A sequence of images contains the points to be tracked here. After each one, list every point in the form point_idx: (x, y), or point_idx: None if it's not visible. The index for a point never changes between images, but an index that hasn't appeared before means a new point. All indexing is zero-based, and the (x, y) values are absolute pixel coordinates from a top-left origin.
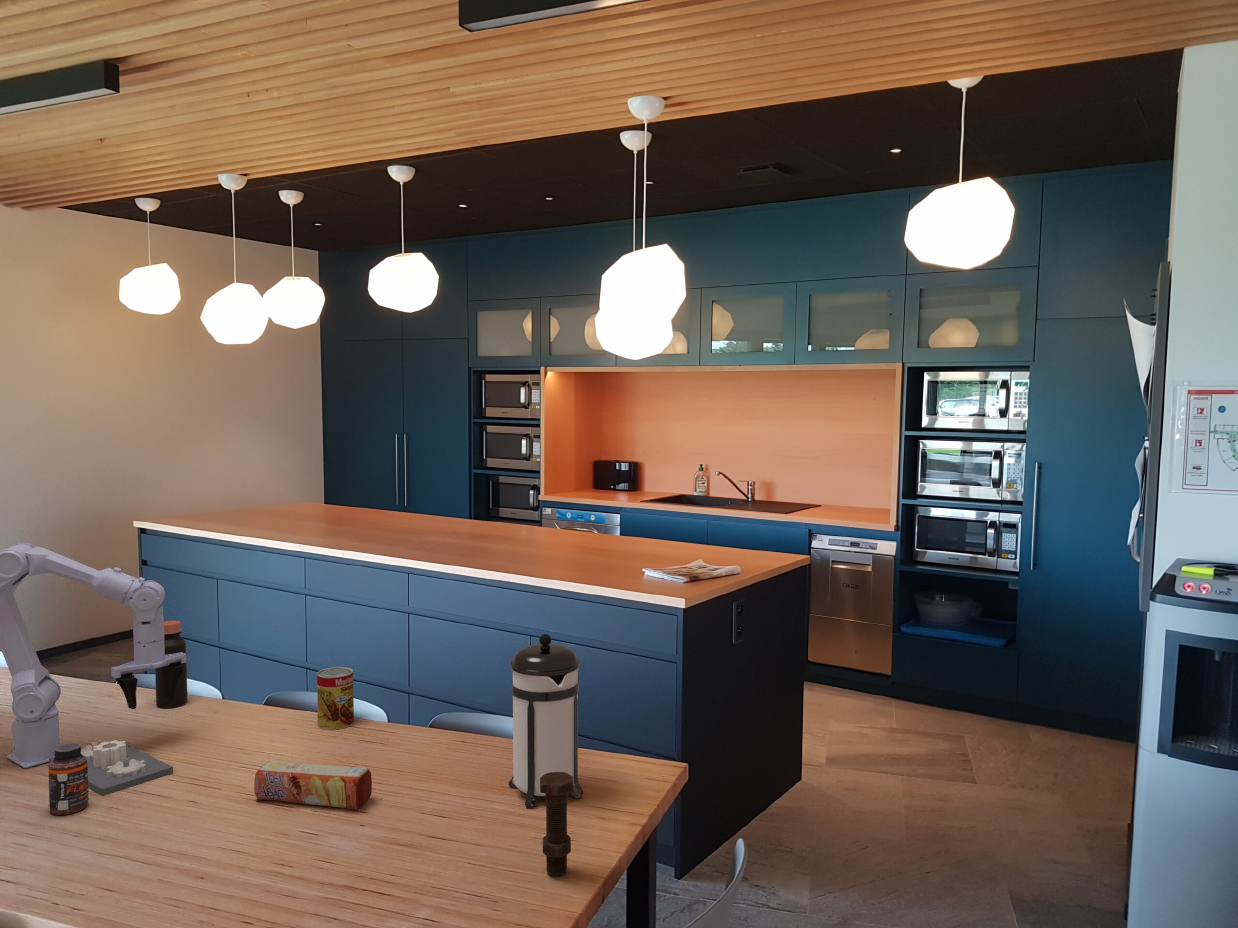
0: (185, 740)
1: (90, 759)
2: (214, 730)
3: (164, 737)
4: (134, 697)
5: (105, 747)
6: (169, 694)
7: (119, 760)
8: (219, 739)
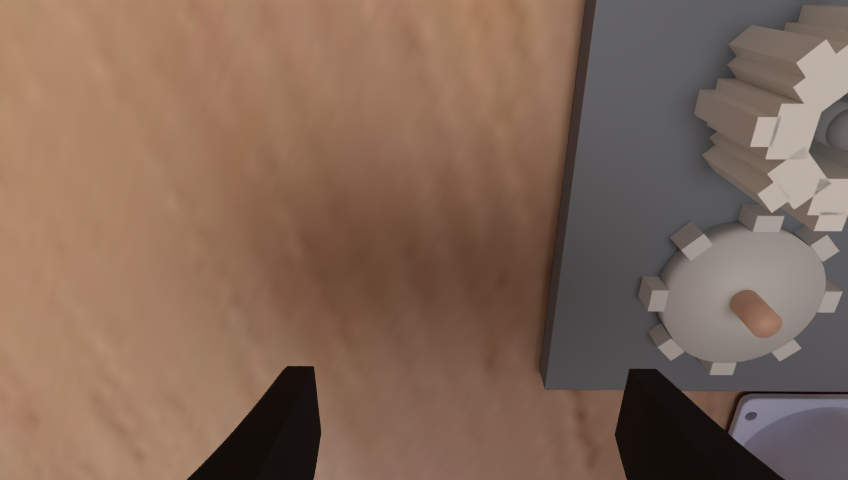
0: (289, 176)
1: (802, 229)
2: (108, 195)
3: (349, 299)
4: (708, 441)
5: (839, 170)
6: (303, 409)
7: (801, 25)
8: (126, 22)
